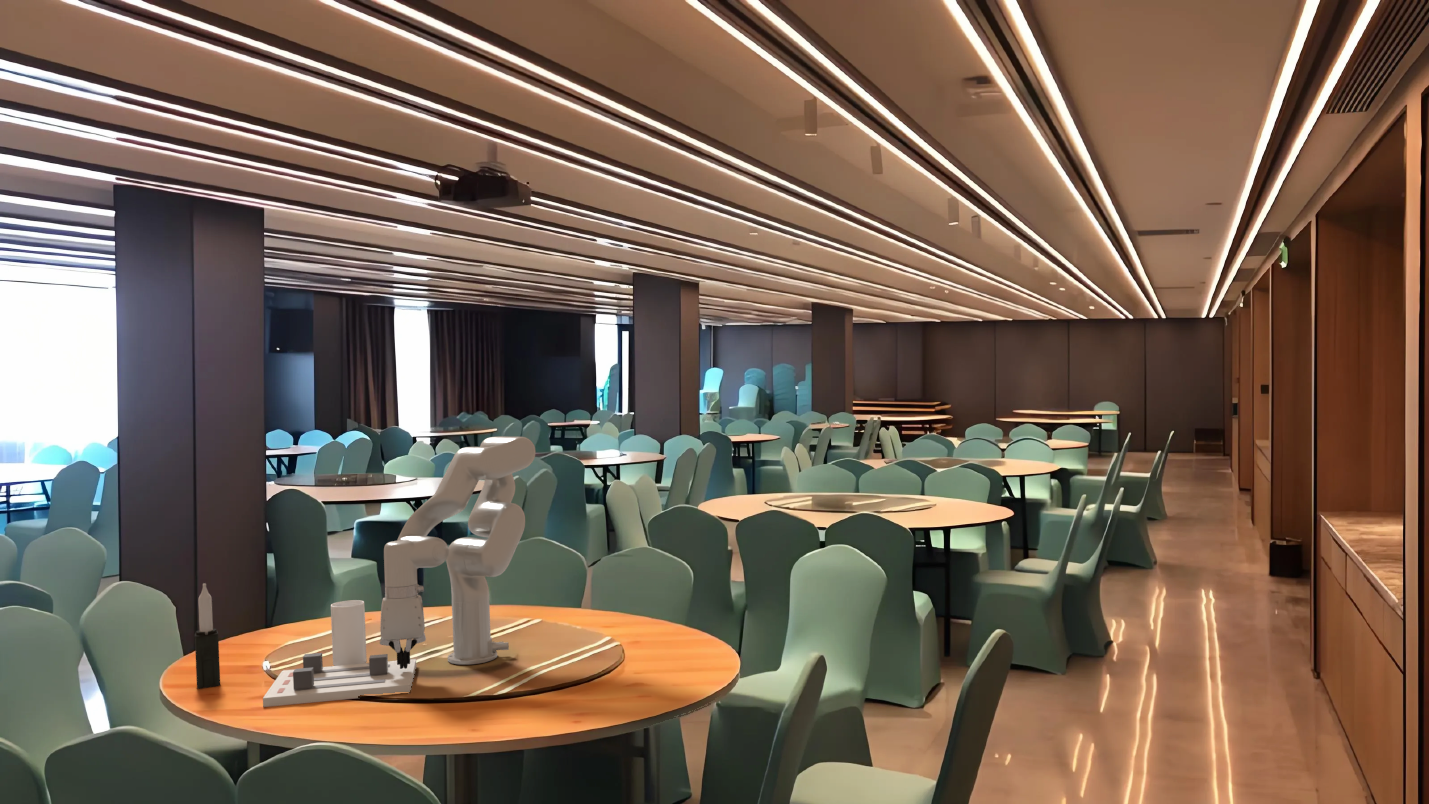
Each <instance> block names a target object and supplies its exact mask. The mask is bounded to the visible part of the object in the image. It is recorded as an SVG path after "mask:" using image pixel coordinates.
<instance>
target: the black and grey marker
mask: <svg viewBox="0 0 1429 804" xmlns="http://www.w3.org/2000/svg"><path fill="white" fill-rule="evenodd" d="M212 598H213V597H212V596H211V594H210V593H209V590H208V588H207V583H206V582H205V583H204V582H203V583H202V589H201V593H200V594H199V597H198V598H197V599H198V600H197V602H198V604H197V605H198V625H199V630H196V631H195V633H194V644H195V645H194V647H195V671H196V672H195V673H196V676H195V677H196V689H198V690H199V689H200V690H202V689H207V688H215V687H220V686H221V667H220V649H219V648H220V647H219V646H220V644H219V632H218V631H219V630H218V629H217V628H214V623H213V602H212V601H213V599H212Z"/></svg>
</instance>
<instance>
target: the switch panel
mask: <svg viewBox="0 0 1429 804" xmlns="http://www.w3.org/2000/svg"><path fill="white" fill-rule="evenodd" d="M302 664H303V666H302V667H303V668H294V669H286V670H285V669H284V670H282V671H281V672H280V673H279V675H278V676H277V677H276V679H275V680H274V681H273V683H272V685H271V686H270V688H268V690H267V692H266V693H265V694H264V696H263V698H262V707H263V708H266V707H277V706H278V707H279V706H289V705H298V704H309V703H319V702H320V703H321V702H322V703H323V702H330V701H341V700H342V701H343V700H352V699H359V698H358V696H360V695H364V694H383V693H395V692H410V690H411V691H412V688H411V686H412V687H413V684H412V682H413V683H414V679H413V678H415V675H416V671H415V669H417V658H412V659H411V658H410V664H408V666H407V668H406V669H405V668H404V667H403V668H402V669H400V665H397V660H392V661H391V660H390V661H389V660H388V672H387V674H376V675H370V669H369V662H367V663H364V664H353V665H341V666H333V665H332V666H324V665H323V652H317V653H316V652H315V653H305V654H304V655H303V656H302ZM414 674H415V675H414Z"/></svg>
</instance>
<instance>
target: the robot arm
mask: <svg viewBox="0 0 1429 804" xmlns="http://www.w3.org/2000/svg"><path fill="white" fill-rule="evenodd" d="M535 457H536V446H535V445H534V443H533V442H532V440H531V439H529V438H528V437H525V436H504V435H503V436H490V437H487V438H485V439H484V440H482V442H481V443H480V446H466V447H462V448H460V449H458V450H457V452H455V453H454V455H453V458H452V460H451V461H450V463H449V466H448V467H447V469H446V470H445V472H444V473H445V474H444V475H443V477H442V479H441V480H440V483H439V485H438V487H437V488H436V491H435V493H434V494H433V495H432V496H431V497H430V498H429V499H427V500H426V501H425V502H424V503H423V504H422V505H421V506H420V507H418V509H416V510H415V511H414V512H413V513H412V514H411V515H410V517H409V518H408V519H407V521H406V522H405V524H404V526H403V527H402V529H401V531H400V533H399V535H398V538H397V540H394V541H393V540H392V541H388V542H387V543H386V544H385V545H384V548H383V560H384V561H383V562H384V563H383V564H384V565H383V566H384V567H383V568H384V593H385V594H384V597H383V598H382V602H381V606H380V607H381V608H380V625H379V626H380V627H379V628H380V640H379V644H380V645H381V646H387V647H390V648H391V649H392V650H394V651H395V653H396V661H397V665H400V669H402V668H403V667H404V668H405V669H406V668H407V666H408V664H410V659H411V650H412V649H413V648H414V647H415V646H416V645H417V644H420V643H424V642H426V640H427V637H426V633H425V630H426V629H425V613H424V603H423V600H422V595H420V594H419V593H421V592H424V591H425V590H424V585H419V584H418V569H419V568H420V569H423V568H436V567H439V566H441V565H442V564H444V563H445V562H446V565H447V571H448V575H449V580H450V587H451V588H450V589H451V590H450V591H451V592H450V593H451V614H452V619H451V620H452V639H453V640H452V642H453V643H452V644H453V645H452V646H453V652H452V653H450V654H448V655H447V662H449V663H450V664H453V665H454V664H455V665H460V666H461V665H463V666H464V665H477V664H482V663H483V664H484V663H487V662H491V661H494V660H495V659H496V658H498V652H497V651H507V650H510V649H509V642H508V641H507V642H506V641H505V642H504V641H498V642H497V641H493V637H492V636H491V614H490V613H491V612H490V611H491V610H490V609H491V608H490V607H491V606H490V590H489V585H488V581H487V579H486V577H489V578H495V577H498V576H501V575H502V574H503V573H504V572H505V571H506V570H507V568H508V567H509V565H510V563H511V561H512V559H513V556H514V555H515V552H516V549H517V547H518V546H519V543H520V540H521V538H522V537H523V534H524V532H525V528H526V516H525V512H524V510H523V508H522V507H521V506H520V505H518V504H517V503H514V502H512V501H513V498H514V496H515V493H516V483H515V478H514V476H513V474H514V473H517V472H519V471H521V470H524V469H526V468H528V467H529V466H530V465H531V464H532V463H533V462H534V460H535ZM480 480H484V483H483V486H482V488H481V491H480V493H479V495H478V497H477V499H476V502H475V504H474V506H473V508H472V510H471V512H470V514H469V517H468V521H467V527H468V530H469V531H470V533H472V534H473V535H475V536H477V537H472V536H471V537H470V536H469V537H465V536H464V537H460V538H456V539H455V540H454V541H452V542H451V543H450V545H448V544H447V542H446V541H445V540H443V539H442V538H441V537H440V538H439V537H437V536H436V537H435V536H428V534H429V533H430V532H431V531H432V530H433V529H434V528H435V527H436V526H437V525H438V524H440V523H441V522H443V521H445V520H447V519H450V518H451V517H454V516H456V515H458V514H460V513H462V512H463V511H464V510H465V509H466V507H467V505H468V503H469V501H470V499H471V497H472V495H473V493H474V490H475V488H476V487H477V485H478V483H479V481H480ZM402 640H406V642H405V647H404V649H403V647H402V646H401V641H402Z"/></svg>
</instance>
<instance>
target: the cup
mask: <svg viewBox="0 0 1429 804" xmlns="http://www.w3.org/2000/svg"><path fill="white" fill-rule="evenodd" d="M365 611H366V610H365V601H364V600H359V599H358V600H357V599H353V600H343V601H337V602H333V603H331V604H330V619H331V620H330V621H331V624H330V625H331V646H332V666H333V665H334V666H341V665H353V664H364V663H366V662H367V659H368V658H367V636H366V614H365V613H366V612H365ZM367 663H368V662H367Z"/></svg>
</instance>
